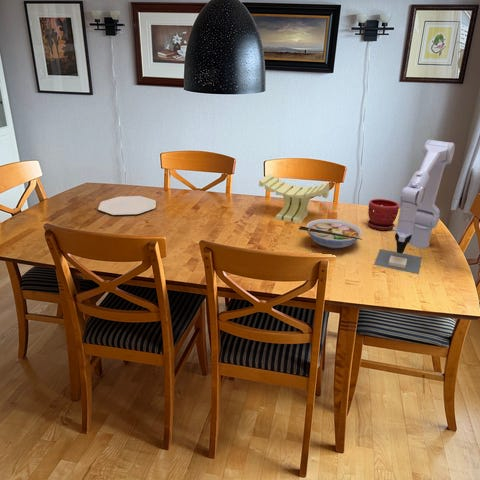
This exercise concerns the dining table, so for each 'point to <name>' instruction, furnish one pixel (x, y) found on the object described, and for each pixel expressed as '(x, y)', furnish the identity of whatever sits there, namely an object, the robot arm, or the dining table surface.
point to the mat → (412, 261)
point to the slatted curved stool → (293, 197)
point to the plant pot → (382, 213)
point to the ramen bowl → (333, 232)
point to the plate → (127, 205)
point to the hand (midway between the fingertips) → (399, 252)
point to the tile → (397, 261)
